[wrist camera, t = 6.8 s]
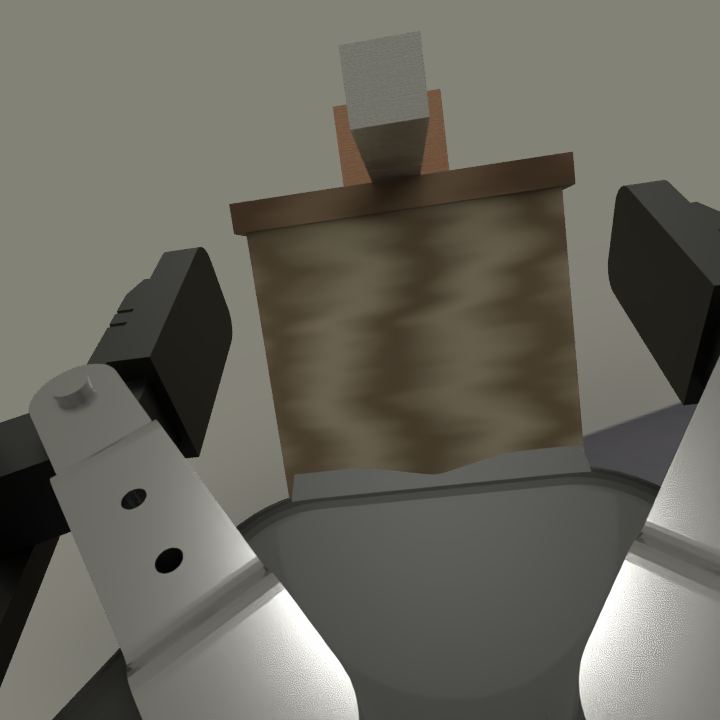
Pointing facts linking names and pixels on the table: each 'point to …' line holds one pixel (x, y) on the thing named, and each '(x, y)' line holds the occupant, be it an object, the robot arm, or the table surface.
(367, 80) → the gray and brown block
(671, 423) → the table surface
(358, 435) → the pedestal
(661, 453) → the table surface
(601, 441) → the table surface
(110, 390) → the robot arm
